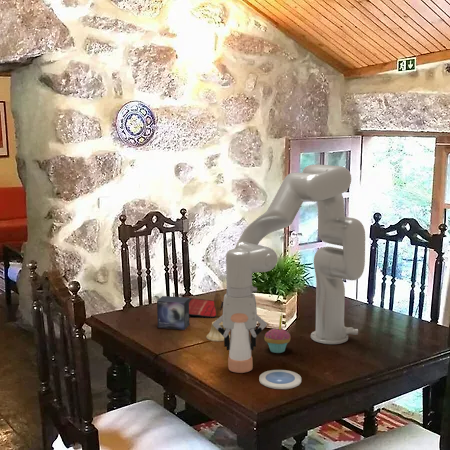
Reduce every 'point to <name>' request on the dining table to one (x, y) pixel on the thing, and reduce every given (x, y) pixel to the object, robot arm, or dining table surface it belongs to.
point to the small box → (173, 312)
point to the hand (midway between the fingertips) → (240, 348)
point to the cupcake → (277, 338)
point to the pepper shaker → (240, 346)
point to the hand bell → (214, 333)
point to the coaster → (280, 379)
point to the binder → (202, 308)
